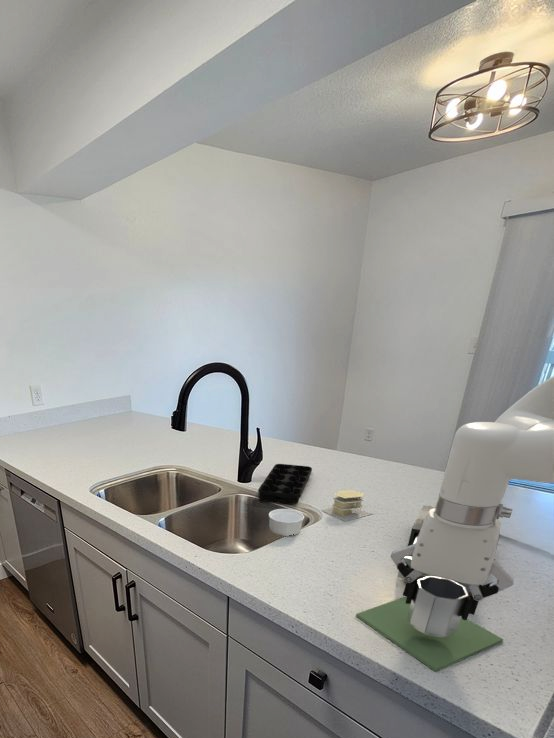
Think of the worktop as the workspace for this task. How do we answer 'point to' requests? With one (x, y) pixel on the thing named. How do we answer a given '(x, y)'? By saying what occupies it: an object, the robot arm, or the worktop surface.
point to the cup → (437, 606)
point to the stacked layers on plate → (347, 506)
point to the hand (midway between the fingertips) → (436, 606)
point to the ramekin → (285, 521)
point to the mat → (427, 636)
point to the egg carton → (284, 483)
